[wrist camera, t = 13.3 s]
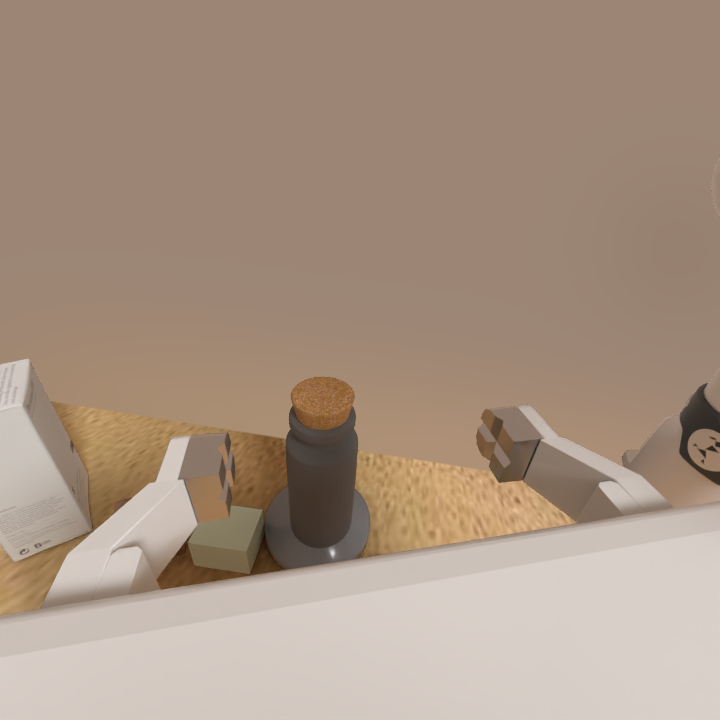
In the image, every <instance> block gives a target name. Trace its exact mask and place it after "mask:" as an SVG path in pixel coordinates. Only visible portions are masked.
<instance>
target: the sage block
mask: <svg viewBox="0 0 720 720" xmlns="http://www.w3.org/2000/svg"><path fill="white" fill-rule="evenodd" d="M264 534H265V525H264V515H263V510H262V509H255V508H248V507H241V506H234V505H231V509H230V517H229V518H226V519H220V520H213V521H207V522H201V523H198V525H197V526H196V528H195V530H194V532H193V534H192V536H191V537H190V539H189V541H188V546H189V549H190V553H191V556H192V559H193V563H194V566H200V567H206V568H213V569H219V570H226V571H232V572H239V573H245V574H250V573H251V570H252V567H253V565H254V562H255V559H256V556H257V554H258V551H259V548H260V545H261V543H262V540H263V537H264Z"/></svg>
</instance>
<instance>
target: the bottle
mask: <svg viewBox="0 0 720 720" xmlns="http://www.w3.org/2000/svg"><path fill="white" fill-rule="evenodd" d="M291 400H292V404H293V406H292V408H291V410H290V413H289V424H290V428H291V430H290V431H289V432H288V435H287V438H286V460H287V480H288V496H289V513H290V523H291V528H292V531H293V534H294V535H295V537H296V538H297V539H298V540H299V541H300V542H301V543H303V544H305V545H307V546H309V547H313V548H326V547H330V546H333V545H335V544H337V543H338V542H340V541H341V540H342V539H343V538H344V537H345V536H346V534H347V533H348V531H349V529H350V525H351V521H352V511H353V500H354V489H355V477H356V464H357V451H358V437H357V434H356V432H355V430H354V426H355V420H356V414H355V411H354V408H353V406H352V405H353V402H354V392H353V390H352V388H351V387H350V386H349V385H348V384H347V383H345V382H343V381H341V380H339V379H336V378H331V377H315V378H310V379H307V380H304V381H302V382H300V383H299V384H297V385H296V386H295V388H294V389H293V391H292V393H291Z"/></svg>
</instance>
